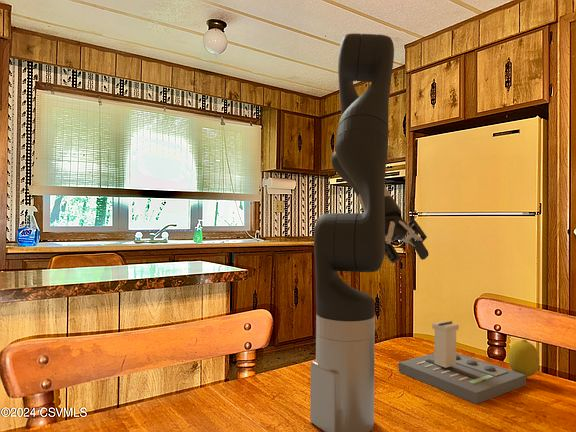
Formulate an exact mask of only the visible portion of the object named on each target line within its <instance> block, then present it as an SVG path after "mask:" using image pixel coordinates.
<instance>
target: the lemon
mask: <svg viewBox="0 0 576 432" xmlns="http://www.w3.org/2000/svg"><path fill="white" fill-rule="evenodd" d="M507 355H508V356H507V357H508V364H509V368H510V370H512V371H516V372H519V373H522V374H525V375H526V379H527V378H528V377H532V376H534V375H535V374H536V373H537V372H538V370H539V368H540V355H539V351H538V350H537V348H536V346H535V345H534V344H533V343H531V342H529V341H528V340H527V339H524V338H522V339H521V340H518V341H515V342H514V343H512V344H511V346H510V348H509V351H508V354H507Z"/></svg>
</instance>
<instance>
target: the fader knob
mask: <svg viewBox="0 0 576 432" xmlns="http://www.w3.org/2000/svg"><path fill="white" fill-rule="evenodd" d="M431 326H432V329H433V330H434V342H433V343H434V345H433V346H434V349H433V350H434V352H433V353H434V364H437V365H440V366H442V367H445V368H447V367H450V366H454V365H456V353H457V331H459V329H460V328H459V324H458V323H454V322H453V321H438V322H434V323H432V325H431Z"/></svg>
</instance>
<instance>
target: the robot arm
mask: <svg viewBox="0 0 576 432" xmlns="http://www.w3.org/2000/svg"><path fill="white" fill-rule="evenodd" d="M338 50H339V51H338V59H337V71H338V72H337V74H338V90H339V91H338V92H339V103H340V114H341V117H340V118H339V122H338V125H337V131H336V139H335V147H334V148H335V151H334V152H333V153H332V155H331V162H330V163H331V166H332V168H333V171H335V173H336V174H337V175H338V176H339V177H340V178H341V179H343V181H345V183H347V184H348V185H349V186H350V187H351V188H352V190H353V191H354V193H355V195H356V197H357V199H358V201H359V203H360V205H361V207H362V209H363V211H364V212H359V213H358V212H355V213H353V212H343V213H342V212H341V213H339V212H337V213H336V212H333V213H323V214H321V215H319V216H318V218H317V220H316V221H315V225H314V232H313V251H314V255H313V256H314V268H315V270H314V271H315V305H316V306H315V308H316V309H315V313H316V315H315V317H316V318H315V319H316V320H315V325H316V326H315V361H312V362H310V390H309V391H310V393H309V394H310V399H309V400H310V402H309V403H310V405H309V408H310V410H309V411H310V413H309V415H310V417H309V418H310V420H309V421H310V423H311V424H314V426H316V427H317V428H319V429H320V430H322V431H323V432H371V431H372V430H373V429H374V427H375V348H376V347H375V344H376V343H375V342H376V341H375V334H376V333H375V329H376V328H375V327H376V326H375V325H376V316H375V315H376V305H375V304H376V303H375V299H374V297H372V296H371V295H370V294H368V293H366V292H364V291H361V290H358V289H356V288H354V287H352V286H350V285H349V284H347V283H346V282H345V281H344V280H343V279H341V278H342V277H340V275H339V272H347V273H349V272H350V273H351V272H352V273H375V272H378V271H379V270H380V269H381V267H382V266H383V262H384V258H385V255H386V256H387V258H388V260H389V261H390V262H391V263H392V264H396V263H397V262H398V261H399V260H400V255H399V253H398V252H397V250H396V248H395V247H394V245H393V244H391V243H392V241H403V242H404V243H406V244H409V245H411V246H413V249H414V251H415V252H416V254H417V255H418V257H419V259H420V260H421V261H423V260H426V259H427V258H428V257H429V251H428V249H427V248H426V246H425V244H424V241H426V239H427V238H428V236H427V235H426V233H425V232H424V230H423V229H422V228H421V226H420V225H419V224H418V222H417V221H416V219H414V218H412V219H410V220H409V221H406V220H405V219H403V217H402V210H401V208H400V207H399V205H398V204H397V202H396V201H395V199H394V198H393V196H392V194H391V192H390V190H389V189H388V188H387V187H386V186H385V184H386V183H385V182H386V171H387V170H386V169H387V159H388V158H387V157H388V147H389V130H390V129H389V126H390V125H389V122H390V121H389V115H390V114H389V111H390V106H389V105H390V92H391V91H390V90H391V82H392V77H393V68H394V59H395V46H394V41H393V40H392V38H391V37H390V36H388V35H384V34H376V33H375V34H374V33H354V32H353V33H346V34H345V35H344V36H343V37H342V38H341V41H340V45H339V49H338ZM354 82H361V83H362V82H363V83H370V85H369V87H368V88H367V89H366V90H365V91H364V92H363V93H362V94H361V95H359V94H358V93H357V91H356V88H355V84H354ZM407 233H408V235H407ZM406 235H407V236H406ZM412 238H413V239H414V240H413V239H412Z"/></svg>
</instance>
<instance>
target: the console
mask: <svg viewBox="0 0 576 432" xmlns="http://www.w3.org/2000/svg"><path fill="white" fill-rule="evenodd" d="M398 373H401V374H403V375H406V376H408V377H409V378H412V379H416V380H417V381H419V382H423V383H425V384H427V385H429V386H431V387H435V388H436V389H439V390H441V391H444V392H446V393H448V394H450V395H452V396H453V395H454V396H455V397H458V398H460V399H463V400H465V401H468V402H470V403H472V404H475V405H478V404H481V403H483V402H485V401H488V400H491V399H493V398H497V397H499V396H501V395H504V394H507V393H509V392H511V391H514V390H517V389H519V388H521V387H524V386H526V385H527V378H526V375H525V374H522V373H519V372H516V371H513V370H512V369H508V368H505V367H502V366H499V365H496V364H493V363H490V362H487V361H484V360H480V359H477V358H474V357H472V356H468V355H465V354H462V353H459V352H456V365H454V366H450V367H447V368H445V367H442V366H440V365H437V364H434V352H433V353H430V354H425V355H422V356H418V357H417V356H416V357H413V358H410V359H406V360H403V361H399V362H398Z"/></svg>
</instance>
